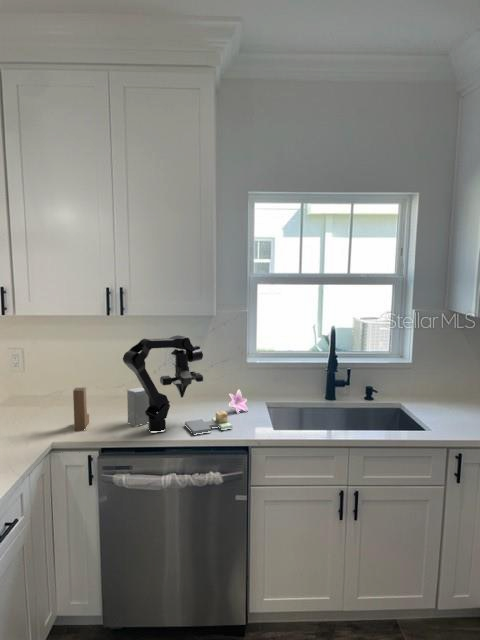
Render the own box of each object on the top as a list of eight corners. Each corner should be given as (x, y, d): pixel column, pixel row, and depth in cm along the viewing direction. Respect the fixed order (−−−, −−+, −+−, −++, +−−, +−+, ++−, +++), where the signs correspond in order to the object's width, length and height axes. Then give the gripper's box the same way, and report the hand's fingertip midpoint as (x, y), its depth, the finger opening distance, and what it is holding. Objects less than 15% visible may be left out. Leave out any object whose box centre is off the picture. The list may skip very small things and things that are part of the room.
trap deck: (193, 435, 185) (193, 431, 184) (184, 426, 195) (184, 421, 195) (232, 429, 192) (232, 425, 192) (221, 420, 203) (221, 416, 203)
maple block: (219, 423, 193) (219, 414, 193) (215, 420, 197) (215, 412, 197) (227, 422, 195) (227, 413, 195) (223, 419, 199) (223, 410, 198)
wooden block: (79, 423, 196) (77, 384, 194) (89, 423, 197) (88, 384, 195) (74, 431, 188) (72, 390, 185) (85, 430, 188) (83, 390, 186)
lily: (224, 417, 211) (232, 402, 207) (220, 400, 220) (228, 386, 217) (246, 421, 215) (254, 407, 211) (241, 405, 225) (249, 391, 221)
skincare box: (135, 427, 193) (134, 392, 190) (126, 423, 197) (125, 389, 195) (151, 422, 199) (151, 389, 197) (142, 418, 204) (142, 385, 201)
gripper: (166, 369, 185) (166, 405, 187) (207, 365, 192) (207, 399, 194) (159, 363, 195) (159, 397, 197) (199, 360, 202) (198, 393, 204)
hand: (181, 397), depth 198 cm, fingers closed
